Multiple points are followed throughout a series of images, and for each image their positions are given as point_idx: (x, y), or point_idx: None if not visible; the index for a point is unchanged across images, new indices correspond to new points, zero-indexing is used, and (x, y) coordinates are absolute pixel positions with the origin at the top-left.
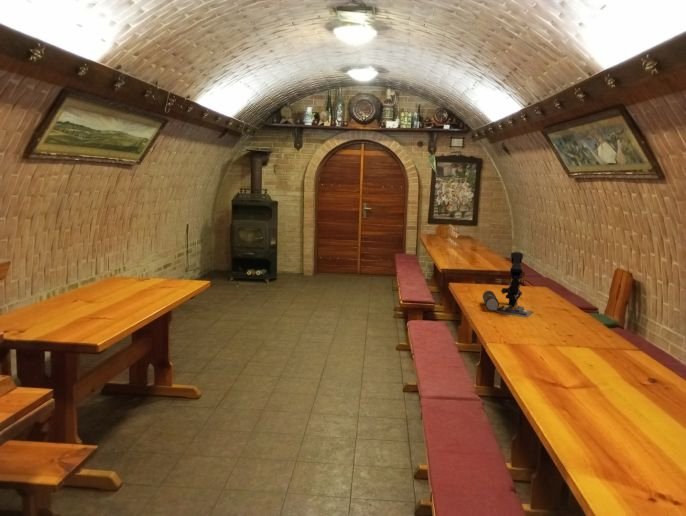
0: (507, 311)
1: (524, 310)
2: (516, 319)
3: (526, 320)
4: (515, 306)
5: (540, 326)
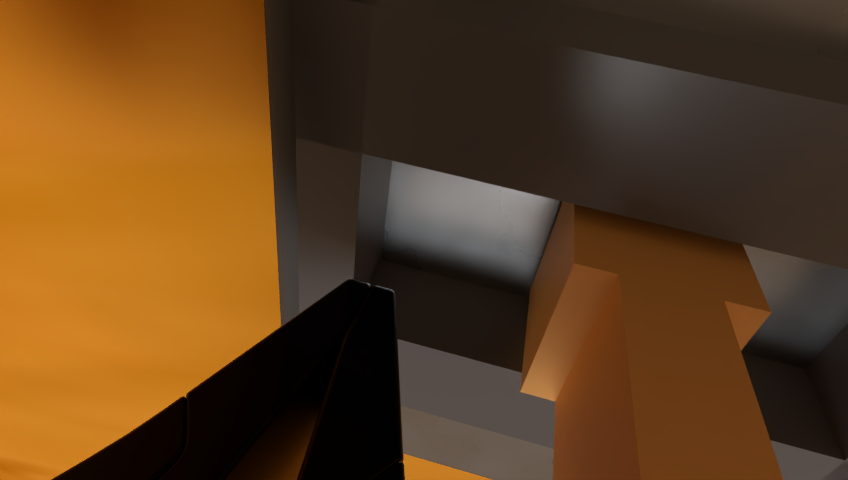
0: (272, 61)
1: None
2: (18, 238)
3: (108, 359)
4: (572, 372)
5: (3, 438)
